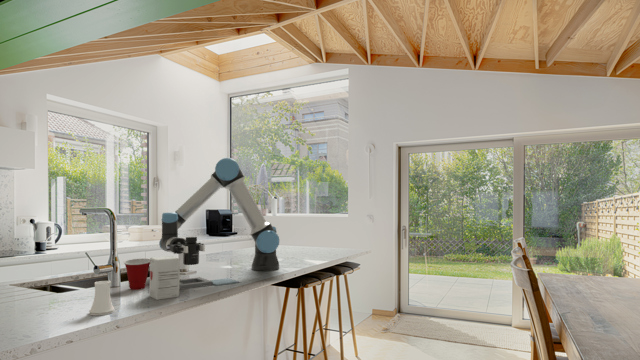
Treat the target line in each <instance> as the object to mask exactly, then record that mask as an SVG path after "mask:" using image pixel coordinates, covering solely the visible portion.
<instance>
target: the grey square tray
mask: <svg viewBox="0 0 640 360" xmlns="http://www.w3.org/2000/svg"><path fill="white" fill-rule="evenodd" d="M207 286H213V284H212V281H209V279H207V278H203V277H200V276H198V277H189V278H183V279H180V281H179V290H186V289H192V288H199V287H207Z"/></svg>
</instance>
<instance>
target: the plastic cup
mask: <svg viewBox="0 0 640 360" xmlns="http://www.w3.org/2000/svg"><path fill="white" fill-rule="evenodd" d="M123 264H124V265H125V269H126V274H127V280H128V285H129V286H128V287H129V289H130V290H131V291H133V290H134V291H138V290H144V289H145V287H146V283H147V279H148V274H149V271H150V258H133V259H132V258H131V259H127V260H125V261H123Z"/></svg>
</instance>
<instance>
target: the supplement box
mask: <svg viewBox="0 0 640 360" xmlns="http://www.w3.org/2000/svg"><path fill="white" fill-rule="evenodd" d="M149 259H150V265H149V293H148V294H149V297H151V298H152V299H154V300H158V301H159V300H165V299H171V298H178V297H180V288H179V281H180V276H181V274H180V272H181V268H180V267H181V258H179V257H177V256H174V255H167V256H154V257H153V256H152V257H149Z"/></svg>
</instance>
